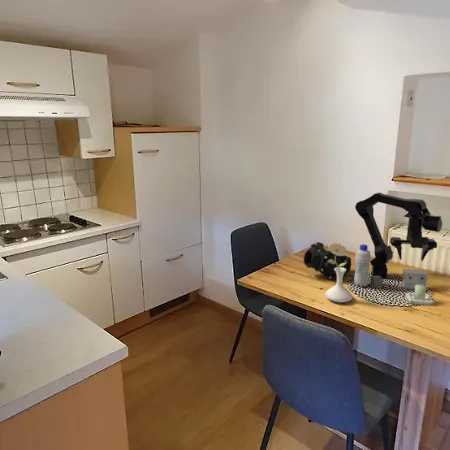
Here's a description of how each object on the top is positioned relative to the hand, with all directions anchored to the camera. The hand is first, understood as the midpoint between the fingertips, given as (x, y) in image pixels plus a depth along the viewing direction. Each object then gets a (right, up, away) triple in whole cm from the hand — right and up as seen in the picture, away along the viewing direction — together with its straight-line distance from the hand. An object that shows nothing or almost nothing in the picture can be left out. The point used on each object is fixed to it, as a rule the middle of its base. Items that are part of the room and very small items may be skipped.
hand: (411, 260), depth 180 cm
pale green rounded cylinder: (-3, -15, -14) cm, 21 cm away
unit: (+1, -13, -1) cm, 13 cm away
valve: (-36, -8, +22) cm, 43 cm away
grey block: (-15, -12, +2) cm, 19 cm away
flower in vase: (-37, -16, -10) cm, 41 cm away
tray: (-3, -16, -14) cm, 21 cm away
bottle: (-22, -12, +3) cm, 25 cm away
